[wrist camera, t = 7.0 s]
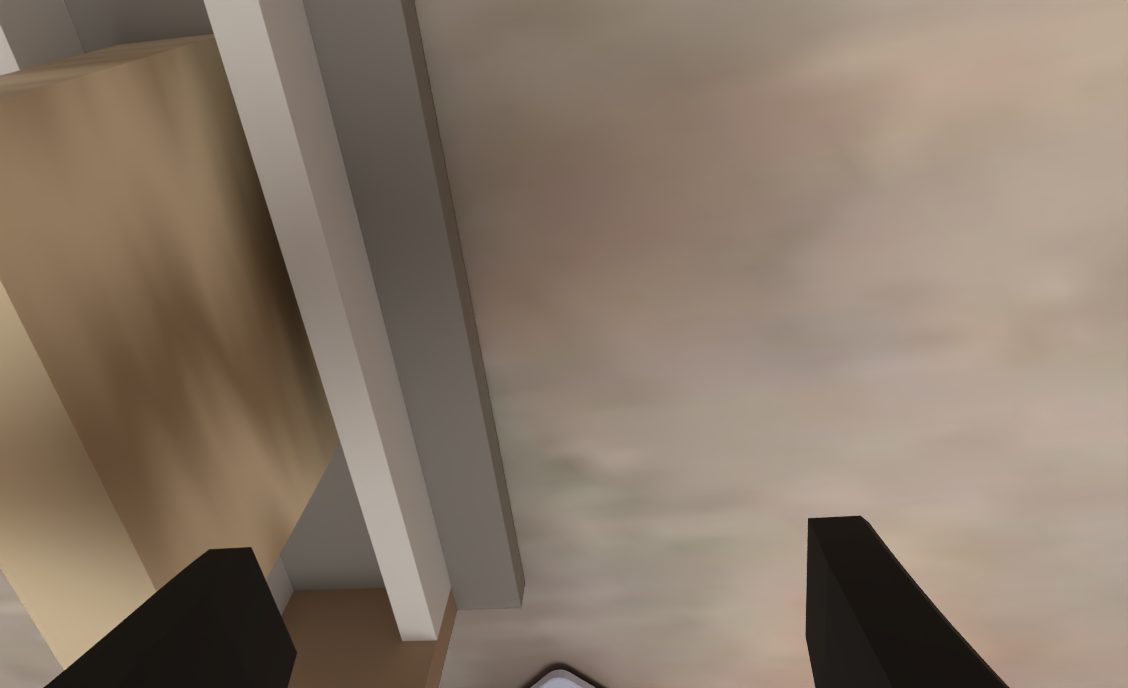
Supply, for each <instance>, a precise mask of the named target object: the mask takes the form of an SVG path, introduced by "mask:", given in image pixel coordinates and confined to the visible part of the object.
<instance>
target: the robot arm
mask: <svg viewBox="0 0 1128 688" xmlns="http://www.w3.org/2000/svg"><path fill="white" fill-rule="evenodd" d="M806 641H807V646H808V651H809V656H810V662H811V667H812V672H813V677H814V683H815V688H1009V687H1008V686H1007V685H1006V684H1005V683H1004V681H1003V680H1002V679H1001V678H1000V677H999V676H998V675H997V674H996V673H995V672H994V671H993V670H992V669H991V668H990V666H989V665H988V664H987V663H986V662H985V661H984V660H983V659H982V658H981V657H980V655H979V654H978V653H977V652H976V651H975V650H974V649H973V648H972V647H971V645H970V644H969V643H968V642H967V641H966V640H965V639H964V638H963V637H962V636H961V634H960V633H959V632H958V631H957V630H956V629H955V628H954V627H953V626H952V624H951V623H950V622H949V621H948V620H947V619H946V618H945V616H944V615H943V614H942V613H941V612H940V611H939V609H938V608H937V607H936V606H935V605H934V604H933V602H932V601H931V600H930V599H929V598H928V596H927V595H926V594H925V593H924V592H923V590H922V589H921V588H920V587H919V586H918V584H917V583H916V582H915V581H914V580H913V578H912V577H911V576H910V575H909V574H908V572H907V571H906V570H905V569H904V567H903V566H902V565H901V564H900V562H899V561H898V560H897V559H896V557H895V556H894V555H893V553H892V552H891V551H890V550H889V548H888V547H887V546H886V544H885V543H884V542H883V541H882V539H881V538H880V537H879V535H878V534H877V533H876V531H875V530H874V529H873V527H872V526H871V525H870V523H869V522H868V521H866V520H865V519H864V518H863V517H861V516H845V517H825V518H808V547H807V595H806ZM296 655H297V651H296V649H295V646H294V644H293V642H292V639H291V637H290V635H289V632H288V630H287V628H286V626H285V623H284V621H283V619H282V616H281V614H280V612H279V609H278V607H277V605H276V602H275V600H274V598H273V596H272V593H271V591H270V589H269V586H268V584H267V582H266V579H265V577H264V575H263V572H262V570H261V568H260V566H259V563H258V561H257V559H256V556H255V554H254V552H253V549H252V547H241V548H222V549H209V550H207V551H206V552H205V553H204V554H202V555H201V556H200V557H198V558H197V559H196V560H194V561H193V562H192V563H191V564H189V565H188V566H187V567H186V568H184V569H183V570H182V571H181V572H180V573H178V574H177V575H176V576H175V577H174V578H172V579H171V580H170V581H169V582H168V583H166V584H165V585H164V586H163V587H162V588H160V589H159V590H158V591H157V592H156V593H155V594H153V595H152V596H151V597H150V598H149V599H148V600H146V601H145V602H144V603H143V604H142V605H141V606H139V607H138V608H137V609H136V610H135V611H134V612H132V613H131V614H130V615H129V616H128V617H127V618H125V619H124V620H123V621H122V622H121V623H120V624H118V625H117V626H116V627H115V628H114V629H113V630H111V631H110V632H109V633H108V634H107V635H106V636H104V637H103V638H102V639H101V640H100V641H98V642H97V643H96V644H95V645H94V646H93V647H91V648H90V649H89V650H88V651H87V652H86V653H84V654H83V655H82V656H81V657H80V658H78V659H77V660H76V661H75V662H74V663H73V664H71V665H70V666H69V667H68V668H67V669H66V670H64V671H63V672H62V673H61V674H60V675H58V676H57V677H56V678H55V679H54V680H52V681H51V682H50V683H49V684H48V685H46V686H45V687H44V688H288V685H289V681H290V677H291V674H292V670H293V666H294V663H295V659H296ZM531 688H595V687H594V686H592V685H590V684H589V683H587V682H585V681H583V680H582V679H580V678H578V677H577V676H575V675H573V674H572V673H570V672H568V671H565V670H554V671H552V672H550V673H548V674H547V675H546V676H544V677H543V678H542V679H541V680H539V681H538V682H537V683H536V684H534V685H533V686H532V687H531Z"/></svg>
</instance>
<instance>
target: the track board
mask: <svg viewBox="0 0 1128 688" xmlns="http://www.w3.org/2000/svg"><path fill="white" fill-rule="evenodd" d="M207 34H214V36H215V39H216V42H217V45H218V48H219V52H220V55H221V58H222V61H223V65H224V68H225V71H226V74H227V78H228V81H229V84H230V87H231V90H232V94H233V97H234V100H235V103H236V107H237V110H238V113H239V116H240V119H241V123H242V126H243V129H244V132H245V136H246V139H247V142H248V145H249V148H250V152H251V155H252V158H253V161H254V165H255V168H256V171H257V174H258V177H259V181H260V184H261V187H262V190H263V194H264V197H265V200H266V203H267V206H268V210H269V213H270V216H271V219H272V223H273V226H274V229H275V232H276V235H277V239H278V242H279V245H280V248H281V252H282V255H283V258H284V261H285V264H286V268H287V271H288V274H289V277H290V281H291V284H292V287H293V290H294V294H295V297H296V300H297V303H298V306H299V310H300V313H301V316H302V319H303V323H304V326H305V329H306V332H307V335H308V339H309V342H310V345H311V348H312V352H313V355H314V358H315V361H316V364H317V368H318V371H319V374H320V377H321V381H322V384H323V387H324V390H325V393H326V397H327V400H328V403H329V406H330V410H331V413H332V416H333V419H334V422H335V426H336V429H337V432H338V435H339V439H340V442H341V443H340V444H339V446H338V448H337V450H336V452H335V454H334V456H333V457H332V459H331V461H330V463H329V465H328V467H327V468H326V470H325V472H324V474H323V476H322V478H321V480H320V481H319V483H318V485H317V487H316V489H315V491H314V492H313V494H312V496H311V498H310V500H309V502H308V503H307V505H306V507H305V509H304V511H303V513H302V515H301V516H300V518H299V520H298V522H297V524H296V526H295V527H294V529H293V531H292V533H291V535H290V537H289V539H288V540H287V542H286V544H285V546H284V548H283V550H282V551H281V553H280V555H279V557H278V559H277V561H276V562H275V564H274V566H273V568H272V570H271V572H270V574H269V575H268V577H267V579H266V582H267V584H268V586H269V589H270V591H271V593H272V596H273V598H274V600H275V602H276V605H277V607H278V609H279V612H280V614H281V616H282V619H283V621H284V623H285V626H286V628H287V630H288V632H289V635H290V637H291V639H292V642H293V644H294V646H295V649H296V651H297V655H296V659H295V663H294V666H293V670H292V674H291V677H290V681H289V685H288V688H438V686H439V682H440V678H441V674H442V670H443V666H444V662H445V657H446V653H447V649H448V645H449V641H450V637H451V633H452V629H453V625H454V621H455V617H456V613H457V610H465V609H505V608H521V606H522V600H523V593H524V587H525V581H524V575H523V570H522V565H521V560H520V554H519V549H518V544H517V539H516V533H515V528H514V523H513V518H512V512H511V507H510V502H509V497H508V491H507V486H506V481H505V476H504V471H503V465H502V460H501V455H500V450H499V444H498V439H497V434H496V429H495V423H494V418H493V413H492V408H491V402H490V397H489V392H488V387H487V381H486V376H485V371H484V366H483V360H482V355H481V350H480V345H479V340H478V334H477V329H476V324H475V319H474V313H473V308H472V303H471V298H470V292H469V287H468V282H467V277H466V271H465V266H464V261H463V256H462V250H461V245H460V240H459V235H458V229H457V224H456V219H455V214H454V209H453V203H452V198H451V193H450V188H449V182H448V177H447V172H446V167H445V161H444V156H443V151H442V146H441V140H440V135H439V130H438V125H437V119H436V114H435V109H434V104H433V98H432V93H431V88H430V83H429V77H428V72H427V67H426V62H425V57H424V51H423V46H422V41H421V36H420V30H419V25H418V20H417V15H416V9H415V4H414V0H0V75H4V74H8V73H12V72H15V71H19V70H23V69H27V68H31V67H35V66H38V65H42V64H46V63H50V62H54V61H58V60H61V59H65V58H69V57H73V56H77V55H81V54H85V53H88V52H92V51H96V50H100V49H104V48H108V47H111V46H115V45H120V44H129V43H138V42H147V41H155V40H164V39H173V38H181V37H190V36H199V35H207Z"/></svg>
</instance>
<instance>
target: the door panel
mask: <svg viewBox="0 0 1128 688" xmlns="http://www.w3.org/2000/svg"><path fill="white" fill-rule="evenodd" d="M340 443H341V442H340V439H339V435H338V432H337V429H336V426H335V422H334V419H333V416H332V413H331V410H330V406H329V403H328V400H327V397H326V393H325V390H324V387H323V384H322V381H321V377H320V374H319V371H318V368H317V364H316V361H315V358H314V355H313V352H312V348H311V345H310V342H309V339H308V335H307V332H306V329H305V326H304V323H303V319H302V316H301V313H300V310H299V306H298V303H297V300H296V297H295V294H294V290H293V287H292V284H291V281H290V277H289V274H288V271H287V268H286V264H285V261H284V258H283V255H282V252H281V248H280V245H279V242H278V239H277V235H276V232H275V229H274V226H273V223H272V219H271V216H270V213H269V210H268V206H267V203H266V200H265V197H264V194H263V190H262V187H261V184H260V181H259V177H258V174H257V171H256V168H255V165H254V161H253V158H252V155H251V152H250V148H249V145H248V142H247V139H246V136H245V132H244V129H243V126H242V123H241V119H240V116H239V113H238V110H237V107H236V103H235V100H234V97H233V94H232V90H231V87H230V84H229V81H228V78H227V74H226V71H225V68H224V65H223V61H222V58H221V55H220V52H219V48H218V45H217V42H216V39H215V36H214V34H207V35H199V36H190V37H181V38H173V39H164V40H155V41H147V42H138V43H129V44H120V45H115V46H111V47H108V48H104V49H100V50H96V51H92V52H88V53H85V54H81V55H77V56H73V57H69V58H65V59H61V60H58V61H54V62H50V63H46V64H42V65H38V66H35V67H31V68H27V69H23V70H19V71H15V72H12V73H8V74H4V75H0V568H1V570H2V572H3V573H4V575H5V577H6V578H7V580H8V581H9V583H10V585H11V586H12V588H13V589H14V591H15V593H16V594H17V596H18V597H19V599H20V601H21V602H22V604H23V605H24V607H25V609H26V610H27V612H28V613H29V615H30V617H31V618H32V620H33V621H34V623H35V625H36V626H37V628H38V630H39V631H40V633H41V634H42V636H43V638H44V639H45V641H46V642H47V644H48V646H49V647H50V649H51V650H52V652H53V654H54V655H55V657H56V658H57V660H58V662H59V663H60V665H61V666H62V668H63V670H66V669H67V668H68V667H69V666H70V665H71V664H73V663H74V662H75V661H76V660H77V659H78V658H80V657H81V656H82V655H83V654H84V653H86V652H87V651H88V650H89V649H90V648H91V647H93V646H94V645H95V644H96V643H97V642H98V641H100V640H101V639H102V638H103V637H104V636H106V635H107V634H108V633H109V632H110V631H111V630H113V629H114V628H115V627H116V626H117V625H118V624H120V623H121V622H122V621H123V620H124V619H125V618H127V617H128V616H129V615H130V614H131V613H132V612H134V611H135V610H136V609H137V608H138V607H139V606H141V605H142V604H143V603H144V602H145V601H146V600H148V599H149V598H150V597H151V596H152V595H153V594H155V593H156V592H157V591H158V590H159V589H160V588H162V587H163V586H164V585H165V584H166V583H168V582H169V581H170V580H171V579H172V578H174V577H175V576H176V575H177V574H178V573H180V572H181V571H182V570H183V569H184V568H186V567H187V566H188V565H189V564H191V563H192V562H193V561H194V560H196V559H197V558H198V557H200V556H201V555H202V554H204V553H205V552H206V551H207V550H209V549H222V548H241V547H252V549H253V552H254V554H255V556H256V559H257V561H258V563H259V566H260V568H261V570H262V572H263V575H264V577H265V579H267V577H268V575H269V574H270V572H271V570H272V568H273V566H274V564H275V562H276V561H277V559H278V557H279V555H280V553H281V551H282V550H283V548H284V546H285V544H286V542H287V540H288V539H289V537H290V535H291V533H292V531H293V529H294V527H295V526H296V524H297V522H298V520H299V518H300V516H301V515H302V513H303V511H304V509H305V507H306V505H307V503H308V502H309V500H310V498H311V496H312V494H313V492H314V491H315V489H316V487H317V485H318V483H319V481H320V480H321V478H322V476H323V474H324V472H325V470H326V468H327V467H328V465H329V463H330V461H331V459H332V457H333V456H334V454H335V452H336V450H337V448H338V446H339V444H340Z"/></svg>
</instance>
